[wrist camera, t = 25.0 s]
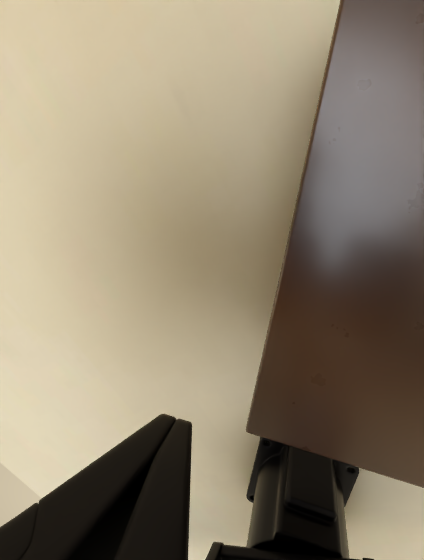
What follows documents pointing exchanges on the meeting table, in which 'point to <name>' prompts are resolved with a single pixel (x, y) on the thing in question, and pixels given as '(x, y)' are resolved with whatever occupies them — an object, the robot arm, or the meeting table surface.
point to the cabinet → (356, 259)
